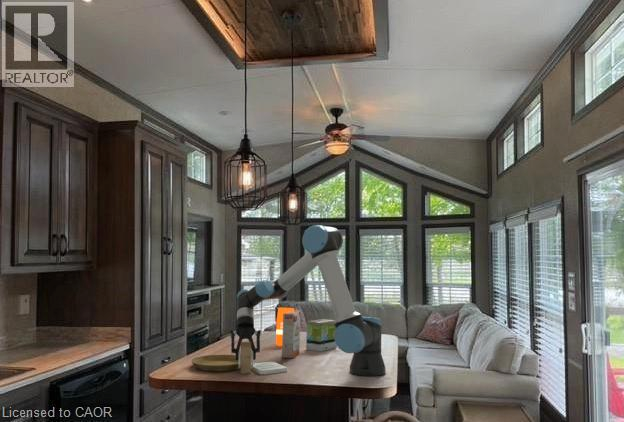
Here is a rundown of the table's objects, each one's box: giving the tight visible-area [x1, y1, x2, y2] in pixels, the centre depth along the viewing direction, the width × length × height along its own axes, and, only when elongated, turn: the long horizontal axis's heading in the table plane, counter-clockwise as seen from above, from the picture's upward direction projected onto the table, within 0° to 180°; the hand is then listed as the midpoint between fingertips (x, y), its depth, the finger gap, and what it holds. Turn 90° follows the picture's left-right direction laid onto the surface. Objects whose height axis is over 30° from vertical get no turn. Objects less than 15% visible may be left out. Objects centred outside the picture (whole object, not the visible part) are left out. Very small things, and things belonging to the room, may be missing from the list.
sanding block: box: [239, 341, 252, 375], centre depth 205 cm, size 6×4×12 cm, turn 10°
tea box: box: [305, 318, 338, 352], centre depth 259 cm, size 15×10×15 cm, turn 143°
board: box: [251, 361, 288, 376], centre depth 209 cm, size 14×12×2 cm
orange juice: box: [275, 307, 295, 347], centre depth 270 cm, size 8×9×20 cm
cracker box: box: [281, 310, 301, 359], centre depth 240 cm, size 14×6×21 cm, turn 168°
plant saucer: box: [191, 354, 241, 372], centre depth 214 cm, size 24×24×3 cm
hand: (245, 366), depth 201 cm, fingers open, 4 cm apart
